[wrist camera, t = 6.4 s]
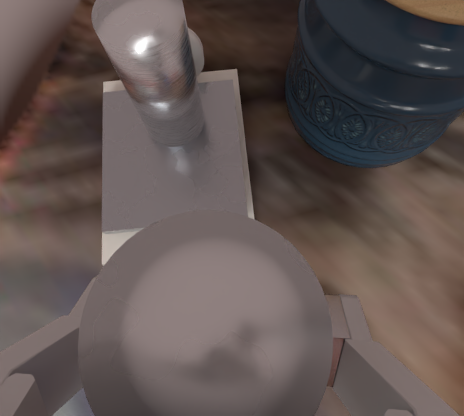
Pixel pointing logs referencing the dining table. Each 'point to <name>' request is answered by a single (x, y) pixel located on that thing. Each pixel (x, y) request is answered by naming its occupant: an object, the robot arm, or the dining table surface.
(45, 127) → the dining table surface
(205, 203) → the grey square plate
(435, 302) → the dining table surface
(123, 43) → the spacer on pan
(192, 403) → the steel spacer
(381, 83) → the canister
